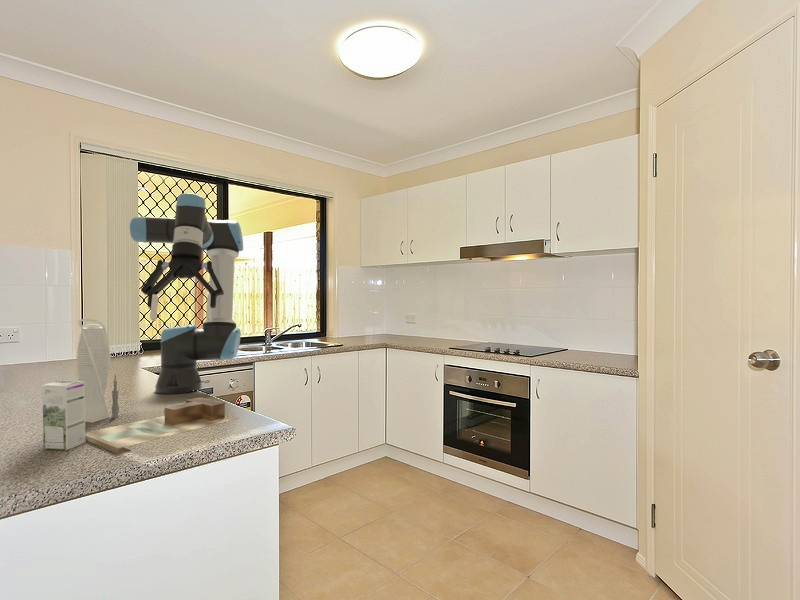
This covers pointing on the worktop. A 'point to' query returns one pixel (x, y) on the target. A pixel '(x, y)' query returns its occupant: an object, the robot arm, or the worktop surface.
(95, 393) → the skyscraper
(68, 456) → the worktop surface
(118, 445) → the board
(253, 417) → the worktop surface
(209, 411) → the t block
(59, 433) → the syrup box
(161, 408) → the worktop surface
